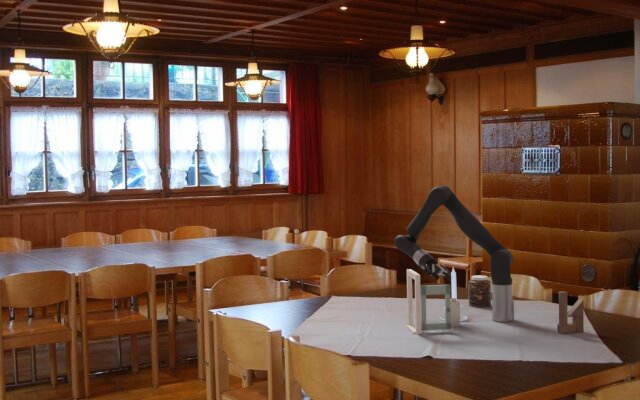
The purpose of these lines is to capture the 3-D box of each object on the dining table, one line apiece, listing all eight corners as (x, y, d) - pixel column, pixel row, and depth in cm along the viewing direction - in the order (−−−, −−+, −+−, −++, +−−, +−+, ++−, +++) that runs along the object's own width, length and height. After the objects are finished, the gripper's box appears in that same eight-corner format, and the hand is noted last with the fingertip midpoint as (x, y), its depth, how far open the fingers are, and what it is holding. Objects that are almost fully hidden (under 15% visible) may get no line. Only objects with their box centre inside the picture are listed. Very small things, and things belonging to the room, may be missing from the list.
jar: (494, 304, 407) (494, 275, 406) (486, 308, 397) (486, 278, 396) (473, 302, 413) (472, 274, 413) (464, 306, 404) (464, 277, 403)
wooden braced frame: (583, 332, 340) (583, 291, 339) (561, 334, 338) (561, 292, 337) (579, 330, 344) (579, 289, 343) (557, 332, 342) (556, 291, 341)
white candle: (458, 324, 363) (457, 296, 362) (461, 326, 358) (461, 298, 357) (447, 324, 362) (446, 297, 361) (450, 327, 357) (450, 299, 356)
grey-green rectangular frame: (422, 331, 344) (422, 286, 343) (421, 330, 347) (420, 285, 346) (451, 329, 346) (450, 285, 345) (449, 328, 349) (449, 284, 347)
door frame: (414, 325, 362) (412, 268, 360) (423, 334, 344) (422, 274, 342) (405, 326, 361) (404, 269, 360) (414, 334, 344) (413, 275, 342)
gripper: (417, 252, 375) (437, 271, 363) (437, 254, 383) (458, 272, 372) (410, 266, 377) (431, 285, 366) (431, 267, 386) (451, 285, 374)
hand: (445, 278), depth 369 cm, fingers open, 8 cm apart
